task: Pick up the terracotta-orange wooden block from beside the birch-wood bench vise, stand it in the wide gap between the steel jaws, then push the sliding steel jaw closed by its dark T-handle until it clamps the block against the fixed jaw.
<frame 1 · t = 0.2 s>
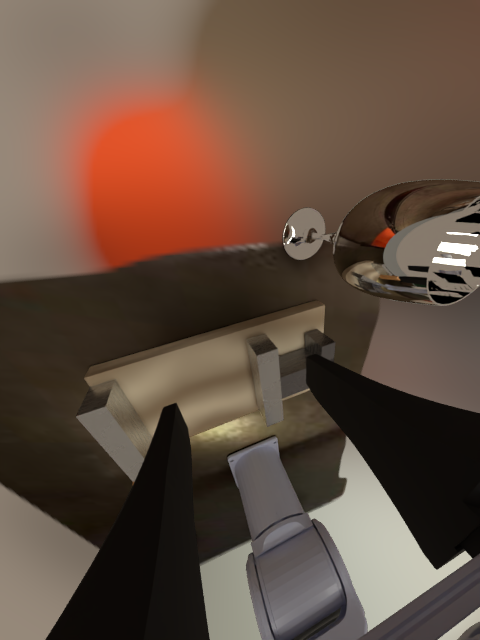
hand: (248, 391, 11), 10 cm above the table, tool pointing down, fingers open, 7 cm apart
vise bed: (218, 376, 23), on the table
wineglass: (302, 235, 19), on the table
fixed jaw: (124, 433, 18), on the vise bed, point 3 cm above the table
moving jaw: (291, 372, 21), point 3 cm above the table, slide at 0.0 cm
coffee cup: (275, 506, 43), on the table
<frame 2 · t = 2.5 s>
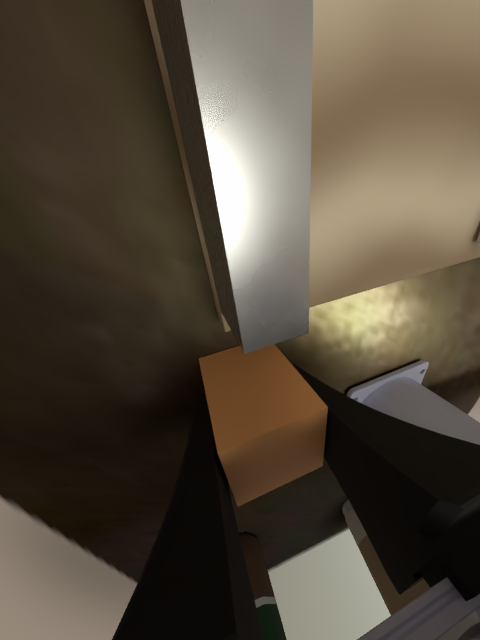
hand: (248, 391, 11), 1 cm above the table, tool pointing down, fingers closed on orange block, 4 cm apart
orange block: (240, 374, 12), on the table, touching gripper
vise bed: (416, 138, 9), on the table
fixed jaw: (233, 131, 5), on the vise bed, point 2 cm above the table
beer bottle: (225, 548, 23), on the table
coffee cup: (360, 495, 29), on the table
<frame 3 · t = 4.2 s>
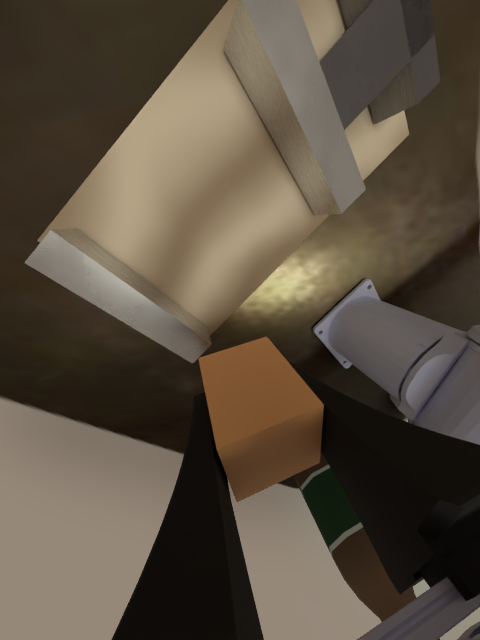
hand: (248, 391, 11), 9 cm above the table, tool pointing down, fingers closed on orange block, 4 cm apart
orange block: (239, 373, 12), point 7 cm above the table, touching gripper
vise bed: (232, 194, 14), on the table
fixed jaw: (141, 302, 13), on the vise bed, point 3 cm above the table
moving jaw: (342, 82, 11), point 3 cm above the table, slide at 0.0 cm
beer bottle: (304, 448, 34), on the table
when the fingers open (4 cm above the table, at t = 6.0 s): orange block stays where it is, resting on vise bed.
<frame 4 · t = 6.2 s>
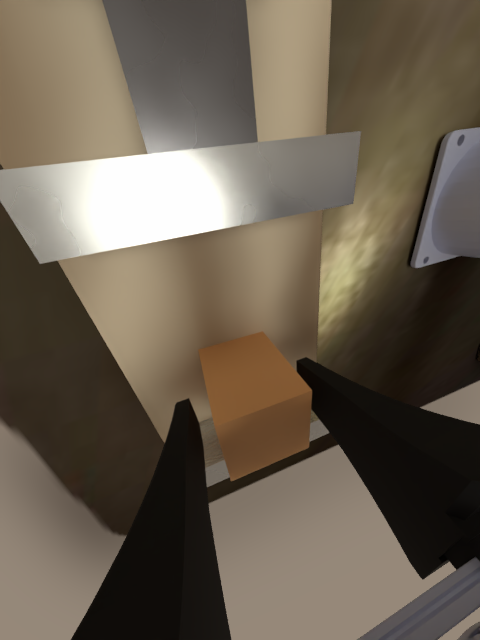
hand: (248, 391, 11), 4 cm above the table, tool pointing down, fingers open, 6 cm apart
orange block: (236, 365, 13), point 1 cm above the table, touching vise bed
vise bed: (216, 290, 12), on the table
fixed jaw: (253, 432, 14), on the vise bed, point 3 cm above the table
moving jaw: (181, 72, 6), point 3 cm above the table, slide at 0.0 cm
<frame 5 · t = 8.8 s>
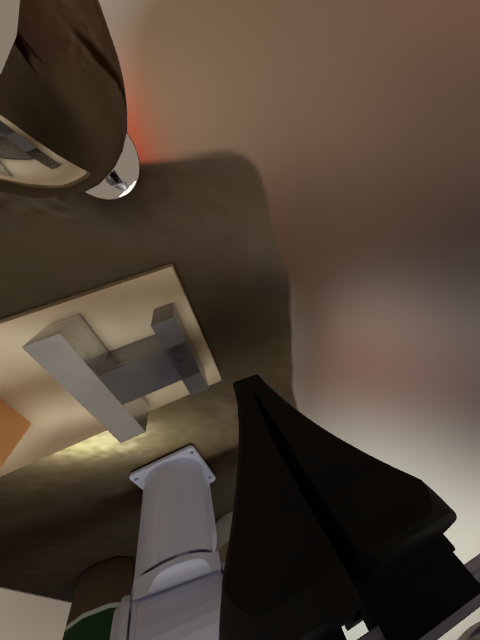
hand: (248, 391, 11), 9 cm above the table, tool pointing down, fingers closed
vise bed: (58, 379, 17), on the table
wineglass: (99, 158, 12), on the table
moving jaw: (141, 367, 15), point 3 cm above the table, slide at 0.0 cm
beer bottle: (108, 567, 32), on the table
coffee cup: (232, 518, 38), on the table
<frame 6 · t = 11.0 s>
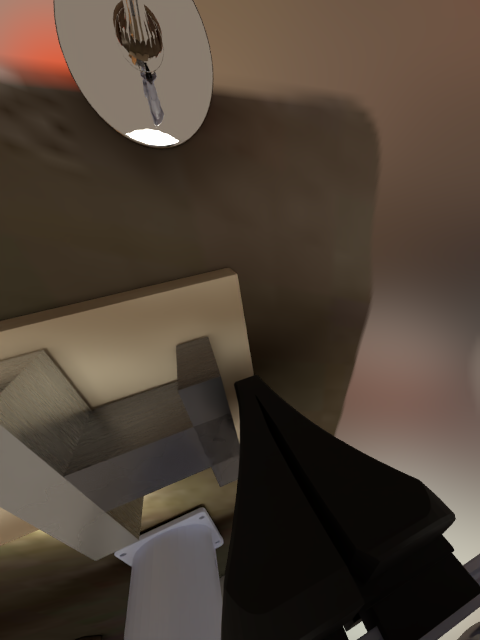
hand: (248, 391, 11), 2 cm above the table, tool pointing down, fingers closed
vise bed: (22, 433, 10), on the table
wineglass: (144, 64, 7), on the table
moving jaw: (145, 440, 9), point 3 cm above the table, slide at 0.9 cm, touching gripper
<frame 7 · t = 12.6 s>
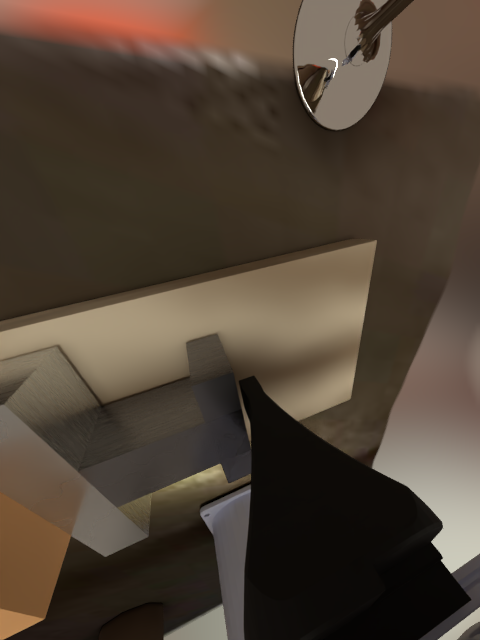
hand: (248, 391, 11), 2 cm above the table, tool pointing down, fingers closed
orange block: (27, 455, 9), point 2 cm above the table, touching fixed jaw, moving jaw, vise bed
vise bed: (167, 385, 12), on the table
wineglass: (339, 59, 8), on the table
moving jaw: (155, 436, 9), point 3 cm above the table, slide at 8.0 cm, touching gripper, orange block
beer bottle: (132, 615, 26), on the table
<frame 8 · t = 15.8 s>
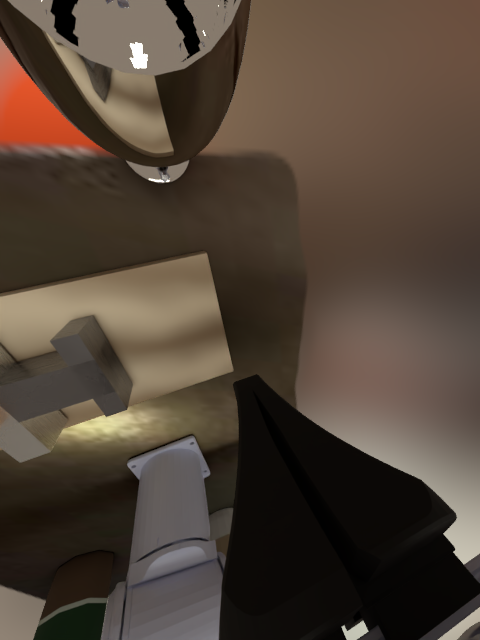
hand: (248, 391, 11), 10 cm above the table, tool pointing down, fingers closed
vise bed: (76, 354, 17), on the table
wineglass: (155, 142, 13), on the table
moving jaw: (50, 381, 14), point 3 cm above the table, slide at 8.0 cm, touching orange block
beer bottle: (87, 562, 31), on the table
coffee cup: (219, 517, 37), on the table
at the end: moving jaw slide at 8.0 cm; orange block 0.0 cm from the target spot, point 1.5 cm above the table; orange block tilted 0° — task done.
